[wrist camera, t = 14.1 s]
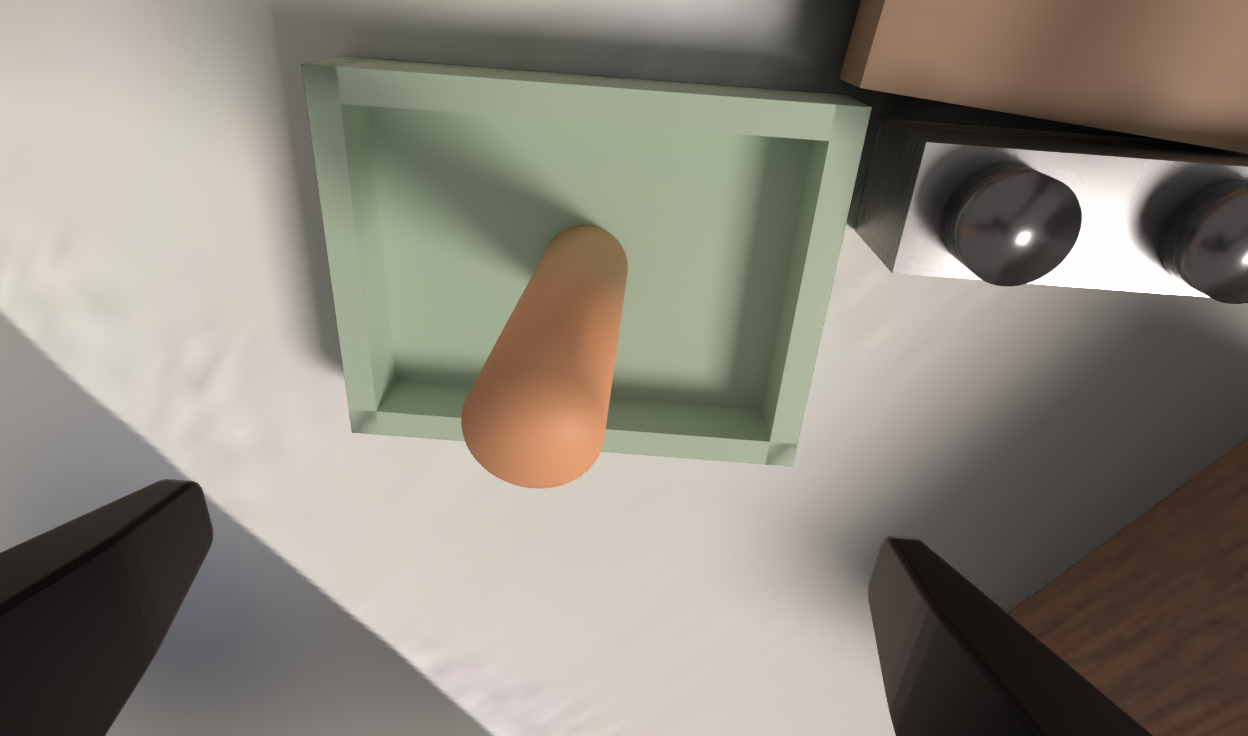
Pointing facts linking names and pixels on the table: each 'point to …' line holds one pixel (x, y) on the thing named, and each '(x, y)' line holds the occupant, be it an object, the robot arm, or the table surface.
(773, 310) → the tray
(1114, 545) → the tissue box cover
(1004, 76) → the tan rectangular slab
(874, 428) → the table surface
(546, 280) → the dowel
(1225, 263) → the grey boxy piece
